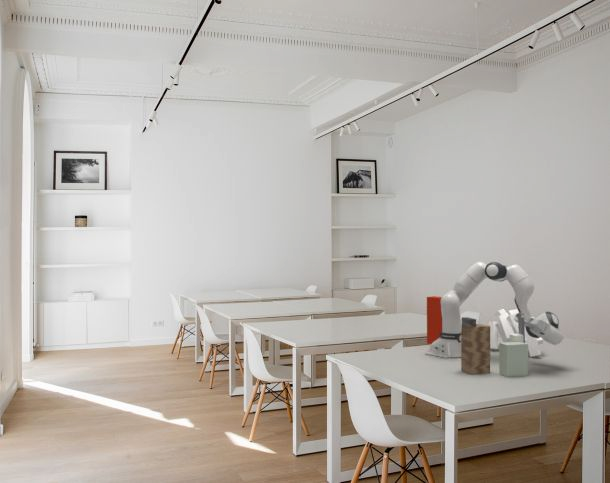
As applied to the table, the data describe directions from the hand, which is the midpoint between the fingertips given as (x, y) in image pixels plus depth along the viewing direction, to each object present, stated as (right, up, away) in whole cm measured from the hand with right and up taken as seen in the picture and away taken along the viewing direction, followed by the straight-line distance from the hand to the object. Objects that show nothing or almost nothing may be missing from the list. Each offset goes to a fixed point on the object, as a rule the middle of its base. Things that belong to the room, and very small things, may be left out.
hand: (519, 315), depth 314 cm
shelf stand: (-24, -30, -1) cm, 39 cm away
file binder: (-24, -30, +79) cm, 88 cm away
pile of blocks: (+17, -31, +52) cm, 62 cm away
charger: (+2, -8, +1) cm, 8 cm away
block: (-6, -31, -7) cm, 32 cm away
